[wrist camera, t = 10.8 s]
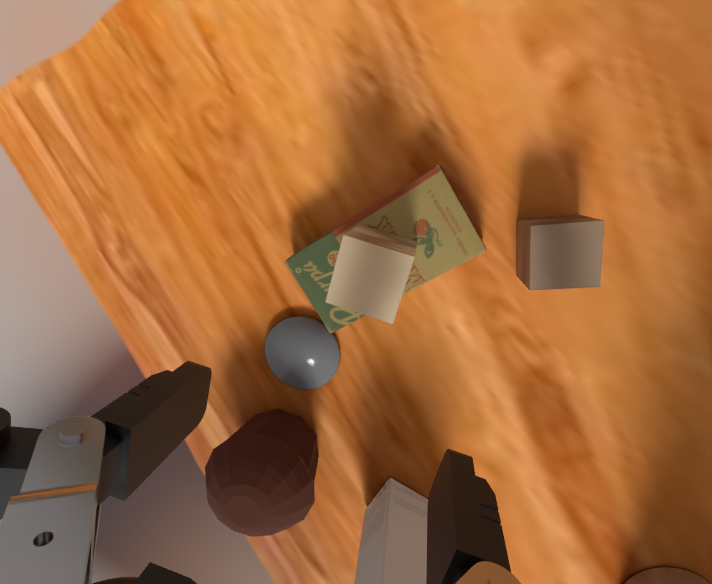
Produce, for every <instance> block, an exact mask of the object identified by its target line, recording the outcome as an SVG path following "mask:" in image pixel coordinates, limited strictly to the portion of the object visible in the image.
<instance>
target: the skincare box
mask: <svg viewBox="0 0 712 584" xmlns="http://www.w3.org/2000/svg"><path fill="white" fill-rule="evenodd" d="M427 507H428V499H426V498H425V497H423V496H421V495H420V494H418V493H416V492H415V491H413V490H411V489H409V488H408V487H406V486H404V485H402V484H401V483H399V482H397V481H396V480H394V479H393V478H389V479H388V481H387V482H386V483H385V485H384V486H383V487H382V489H381V490H380V491H379V492H378V494H377V495H376V496H375V497H374V499H373V500H372V501H371V502H370V504H369V505H368V506H367V508H366V510H365V513H364V520H363V527H362V534H361V541H360V549H359V556H358V563H357V570H356V577H355V584H426V576H427Z"/></svg>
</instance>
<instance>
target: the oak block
mask: <svg viewBox="0 0 712 584" xmlns="http://www.w3.org/2000/svg"><path fill="white" fill-rule="evenodd" d="M416 248H417V241H413V240H410V239H407V238H404V237H400V236H397V235H394V234H390V233H387V232H384V231H380V230H377V229H374V228H371V227H367V226H364V225H361V224H360V225H359V226H357V227H355V228H354V229H352V230H350V231H349V232H347V233H346V234H344V235H343V238H342V242H341V245H340V249H339V253H338V257H337V260H336V264H335V268H334V272H333V275H332V279H331V283H330V287H329V290H328V294H327V298H326V303H329V304H332V305H335V306H338V307H341V308H344V309H347V310H350V311H353V312H356V313H359V314H363V315H366V316H369V317H372V318H375V319H378V320H381V321H384V322H387V323H390V324H393V322H394V319H395V316H396V313H397V310H398V306H399V303H400V300H401V297H402V294H403V291H404V288H405V285H406V282H407V279H408V276H409V273H410V270H411V267H412V264H413V261H414V258H415V253H416Z"/></svg>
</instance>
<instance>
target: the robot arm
mask: <svg viewBox="0 0 712 584" xmlns="http://www.w3.org/2000/svg"><path fill="white" fill-rule="evenodd" d="M210 380H211V369H210V368H209V367H206V366H203V365H200V364H197V363H194V362H191V361H187V362H185V363H184V364H183V365H181V366H180V367H178V368H177V369H176V370H174V371H173V372H172V371H169V370H166V371H163V372H160V373H157V374H154V375H151V376H150V377H148V378H147V379H145V380H144V381H142V382H141V383H140V384H139V385H138V386H135V387H134V388H132V389H131V390H129V392H128V393H125V394H123V395H122V396H120V397H119V398H118V399H116V400H115V401H113V402H112V403H110V404H109V405H107V406H106V407H104V408H103V409H101V410H100V411H98V412H97V413H95V414H94V415H92V416H91V417H88V416H75V417H69V418H64V419H61V420H58V421H56V422H54V423H52V424H50V425H49V426H47V427H46V428H45V429H33V428H22V427H11V416H10V413H9V412H8V411H7V410H5V409H3V408H0V519H2V522H1V524H0V584H92V574H93V566H94V557H95V549H96V541H97V533H98V524H99V516H100V505H101V503H102V502H103V501H104V500H105V499H106V498H107V497H108V496H109V495H111V496H113V497H116V498H118V499H121V500H124V501H125V500H126V499H127V498H128V497H129V496H130V495H131V494H132V493H133V492H134V490H135V489H136V488H137V487H138V486H139V485H140V484H141V483H142V482H143V481H144V480H145V479H146V478H147V477H148V476H149V475H150V474H151V473H152V472H153V471H154V470H155V469H156V468H157V467H158V466H159V465H160V464H161V463H162V462H163V461H164V460H165V459H166V458H167V456H168V455H169V454H170V453H171V452H172V451H173V450H174V449H175V448H176V447H177V446H178V445H179V444H180V443H181V442H182V441H183V440H184V439H185V438H186V437H187V436H188V435H189V434H190V433H191V432H192V431H193V430H194V429H195V428H196V427H197V425H198V424H199V423H200V421H201V419H202V418H203V415H204V413H205V410H206V406H207V399H208V393H209V387H210ZM500 524H501V521H500V516H499V513H498V506H497V501H496V496H495V494H494V492H493V490H492V489H491V487H490V486H489V484H488V482H487V481H486V479H483V478H480V477H477V476H475V471H474V464H473V458H472V457H471V456H468V455H465V454H462V453H459V452H456V451H453V450H450V449H447V450H446V452H445V454H444V457H443V459H442V462H441V464H440V467H439V470H438V472H437V475H436V477H435V480H434V482H433V485H432V488H431V491H430V495H429V500H428V507H427V576H426V584H521V583H520V582H519V581H518V579H517V578H516V577H515V576H514V575H513V574H512V573H511V570H510V565H509V560H508V555H507V550H506V545H505V540H504V535H503V531H502V526H501V525H500ZM93 584H197V583H195V582H194V581H193V580H192V579H190V578H188V577H186V576H183V575H181V574H178V573H176V572H173V571H171V570H168V569H166V568H163V567H161V566H158V565H156V564H153V563H151V562H150V563H149V565H148V566H147V567H146V568H145V570H144V571H143V572H142V574H141V575H140V576H139V577H119V578H114V579H107V580H103V581H100V582H96V583H93ZM624 584H709V583H708V582H707V581H705V580H704V579H703V578H702V577H700V576H698V575H696V574H694V573H692V572H689V571H686V570H683V569H678V568H669V567H661V568H652V569H648V570H645V571H642V572H640V573H637V574H635V575H633V576H632V577H631V578H629V579H628V580H627V581H626V582H625V583H624Z"/></svg>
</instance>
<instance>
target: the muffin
mask: <svg viewBox="0 0 712 584" xmlns="http://www.w3.org/2000/svg"><path fill="white" fill-rule="evenodd" d="M318 457H319V455H318V450H317V435H316V434H315V433H314V432H313V431H312V430H311V429H310V428H309V427H308V426H307V424H306V423H305V421H304V420H303V419H302V417H301V416H297V415H293V414H289V413H287V412H285V411H282V410H280V409H275V410H273V411H270V412H267V413H260V414H256V415H255V416H254V417H253V418H252V419H250V420H249V421H248V422H247V423H246V424H245V425H243V426H242V427H241V428H240V429H239V430H238V431H237V432H235V433H234V434H233V435H232V436H231V437H230V438H228V439H227V440H226V441H225V442H223V443H222V444H220V445H219V446H217V447H216V448H214V449H213V451H212V453H211V456H210V458H209V460H208V462H207V465H206V467H205V472H206V488H207V499H208V503H209V505H210V507H211V508H212V510H213V512H214V513H215V515H216V517H217V518H218V520H220V521H221V522H222V523H223V524H225V525H226V526H228V527H229V528H230V529H231V530H233V531H235V532H238V533H242V534H245V535H248V536H266V535H273V534H275V533H278V532H280V531H282V530H286V529H287V528H289V527H291V526H293V525H295V524H297V523H298V522H300V521H302V520H304V519H305V517H306V515H307V513H308V512H309V510H310V508H311V507H312V505H313V503H314V502H315V500H314V479H315V474H316V468H317V462H318Z"/></svg>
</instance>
